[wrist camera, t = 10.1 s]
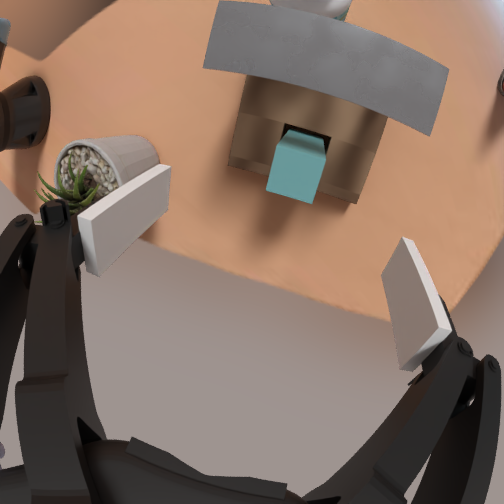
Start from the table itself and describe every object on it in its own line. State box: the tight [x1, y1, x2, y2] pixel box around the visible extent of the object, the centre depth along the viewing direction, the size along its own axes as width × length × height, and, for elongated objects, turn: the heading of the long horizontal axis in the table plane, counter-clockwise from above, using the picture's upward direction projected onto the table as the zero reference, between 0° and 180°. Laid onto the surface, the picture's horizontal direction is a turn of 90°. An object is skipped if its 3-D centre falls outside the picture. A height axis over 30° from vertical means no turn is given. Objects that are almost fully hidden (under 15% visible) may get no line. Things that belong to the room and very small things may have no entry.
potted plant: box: [34, 135, 159, 223], centre depth 29 cm, size 13×14×20 cm
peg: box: [266, 128, 326, 204], centre depth 26 cm, size 4×4×12 cm
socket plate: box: [228, 75, 388, 204], centre depth 28 cm, size 16×16×2 cm
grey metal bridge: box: [203, 1, 449, 137], centre depth 19 cm, size 16×6×15 cm, turn 77°
